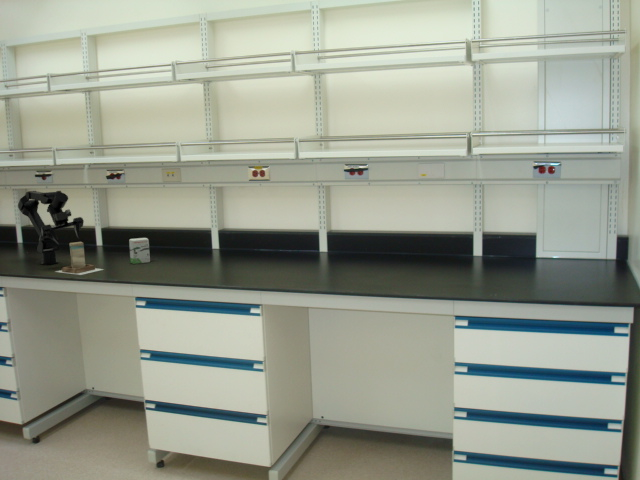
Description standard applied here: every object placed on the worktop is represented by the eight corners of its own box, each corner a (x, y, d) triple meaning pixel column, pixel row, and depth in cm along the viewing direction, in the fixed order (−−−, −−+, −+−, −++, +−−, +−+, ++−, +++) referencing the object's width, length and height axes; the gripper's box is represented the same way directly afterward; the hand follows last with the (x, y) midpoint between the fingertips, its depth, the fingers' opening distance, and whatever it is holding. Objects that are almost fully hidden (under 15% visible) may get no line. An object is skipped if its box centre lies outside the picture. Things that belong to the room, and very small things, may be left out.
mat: (54, 272, 270) (54, 271, 269) (78, 267, 281) (78, 266, 281) (81, 275, 261) (81, 274, 261) (104, 269, 272) (104, 269, 272)
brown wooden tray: (62, 271, 268) (61, 267, 268) (80, 267, 277) (80, 263, 277) (76, 273, 264) (76, 269, 263) (95, 269, 272) (94, 265, 272)
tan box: (71, 270, 271) (69, 243, 268) (83, 269, 274) (80, 241, 272) (74, 272, 267) (71, 244, 265) (85, 270, 270) (83, 242, 268)
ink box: (133, 264, 284) (131, 240, 283) (130, 262, 288) (128, 239, 287) (150, 262, 289) (149, 238, 287) (147, 260, 293) (145, 237, 291)
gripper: (36, 210, 268) (48, 238, 264) (78, 200, 278) (90, 227, 274) (36, 222, 277) (48, 250, 272) (76, 213, 287) (88, 239, 283)
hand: (69, 241), depth 275 cm, fingers open, 9 cm apart
